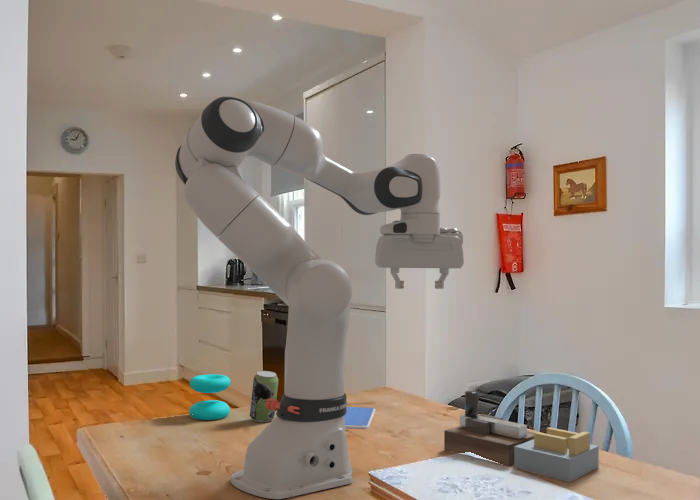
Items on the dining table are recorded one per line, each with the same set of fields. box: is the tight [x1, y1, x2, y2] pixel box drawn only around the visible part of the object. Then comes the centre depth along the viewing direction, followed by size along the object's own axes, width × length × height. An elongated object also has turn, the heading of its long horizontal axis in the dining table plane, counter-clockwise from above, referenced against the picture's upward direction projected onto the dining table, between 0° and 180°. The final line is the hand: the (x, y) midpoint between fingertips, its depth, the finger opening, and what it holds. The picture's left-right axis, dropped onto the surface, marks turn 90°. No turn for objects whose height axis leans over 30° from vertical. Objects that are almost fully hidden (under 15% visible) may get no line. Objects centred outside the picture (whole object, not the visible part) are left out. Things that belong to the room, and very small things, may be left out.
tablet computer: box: [344, 406, 376, 430], centre depth 156 cm, size 19×13×1 cm, turn 172°
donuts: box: [188, 373, 231, 421], centre depth 157 cm, size 10×10×10 cm
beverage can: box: [249, 370, 279, 423], centre depth 153 cm, size 6×7×12 cm
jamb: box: [443, 413, 535, 467], centre depth 128 cm, size 12×15×6 cm
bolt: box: [459, 390, 528, 439], centre depth 128 cm, size 3×14×7 cm, turn 45°
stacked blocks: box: [513, 427, 600, 483], centre depth 118 cm, size 12×11×7 cm
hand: (419, 288), depth 141 cm, fingers open, 8 cm apart
